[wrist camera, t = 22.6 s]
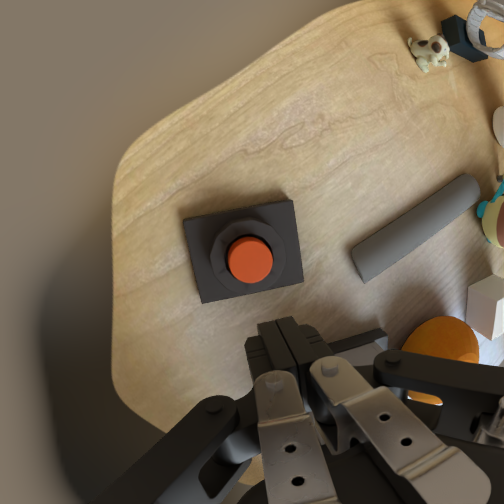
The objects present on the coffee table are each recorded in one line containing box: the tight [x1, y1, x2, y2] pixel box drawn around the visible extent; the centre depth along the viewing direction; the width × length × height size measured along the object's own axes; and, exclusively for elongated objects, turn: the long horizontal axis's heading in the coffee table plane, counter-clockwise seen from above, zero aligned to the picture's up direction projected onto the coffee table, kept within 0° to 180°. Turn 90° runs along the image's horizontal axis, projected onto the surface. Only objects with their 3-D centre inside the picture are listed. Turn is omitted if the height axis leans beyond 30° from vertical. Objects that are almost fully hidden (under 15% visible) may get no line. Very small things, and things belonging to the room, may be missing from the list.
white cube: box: [465, 274, 504, 341], centre depth 34 cm, size 6×6×6 cm
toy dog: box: [408, 33, 450, 72], centre depth 25 cm, size 4×5×5 cm
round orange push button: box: [228, 237, 273, 283], centre depth 27 cm, size 4×4×2 cm
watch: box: [441, 0, 504, 63], centre depth 22 cm, size 6×8×11 cm
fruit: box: [401, 316, 479, 405], centre depth 32 cm, size 12×12×10 cm
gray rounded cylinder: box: [351, 174, 480, 284], centre depth 32 cm, size 4×20×2 cm, turn 120°
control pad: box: [183, 199, 304, 304], centre depth 29 cm, size 10×8×3 cm
